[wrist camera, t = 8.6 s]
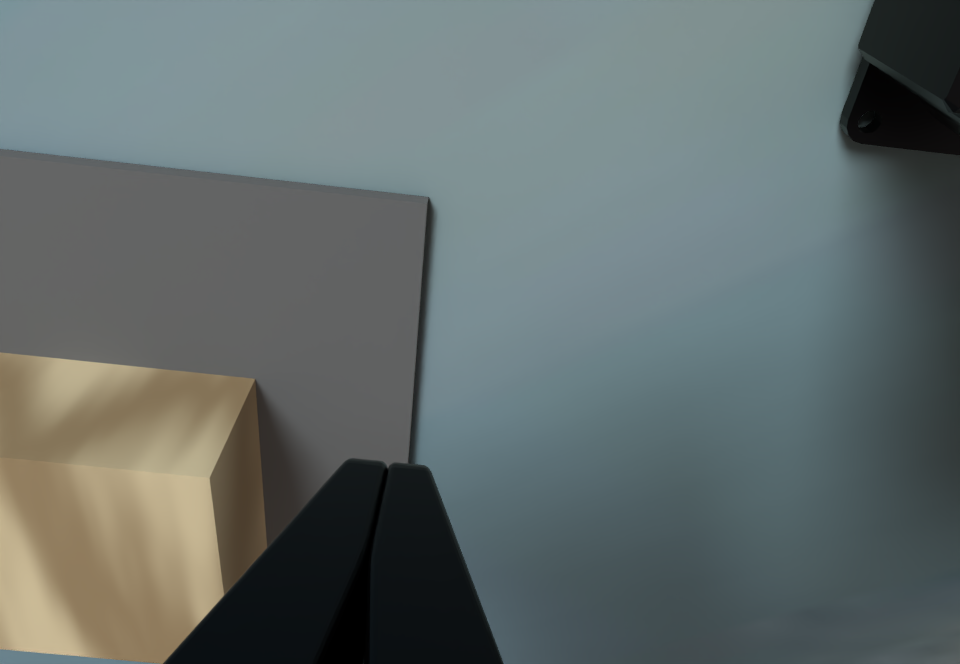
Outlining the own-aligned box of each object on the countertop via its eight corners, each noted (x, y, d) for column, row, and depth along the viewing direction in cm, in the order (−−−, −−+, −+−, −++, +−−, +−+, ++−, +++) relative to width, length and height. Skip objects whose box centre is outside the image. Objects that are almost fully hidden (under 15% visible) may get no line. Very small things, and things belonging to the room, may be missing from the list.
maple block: (209, 477, 18) (-213, 436, 18) (233, 669, 23) (-106, 639, 22) (255, 378, 22) (-101, 341, 21) (268, 563, 26) (-27, 535, 26)
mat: (428, 197, 19) (427, 203, 19) (393, 666, 30) (391, 675, 30) (-187, 128, 18) (-199, 133, 18) (7, 631, 29) (1, 640, 29)
